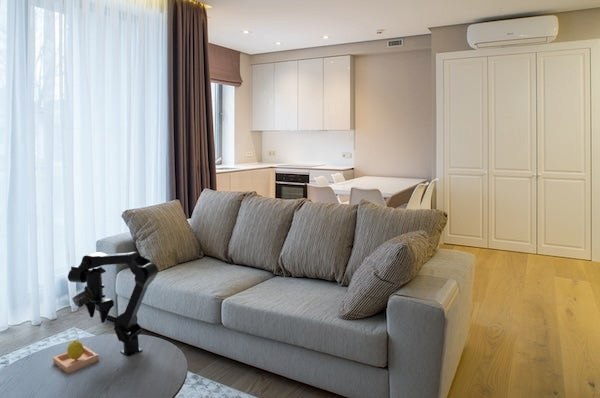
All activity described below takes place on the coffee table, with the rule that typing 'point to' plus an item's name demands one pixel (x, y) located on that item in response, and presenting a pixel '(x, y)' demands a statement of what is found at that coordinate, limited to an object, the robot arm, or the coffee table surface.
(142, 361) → the coffee table surface
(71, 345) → the lemon
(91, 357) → the dish
